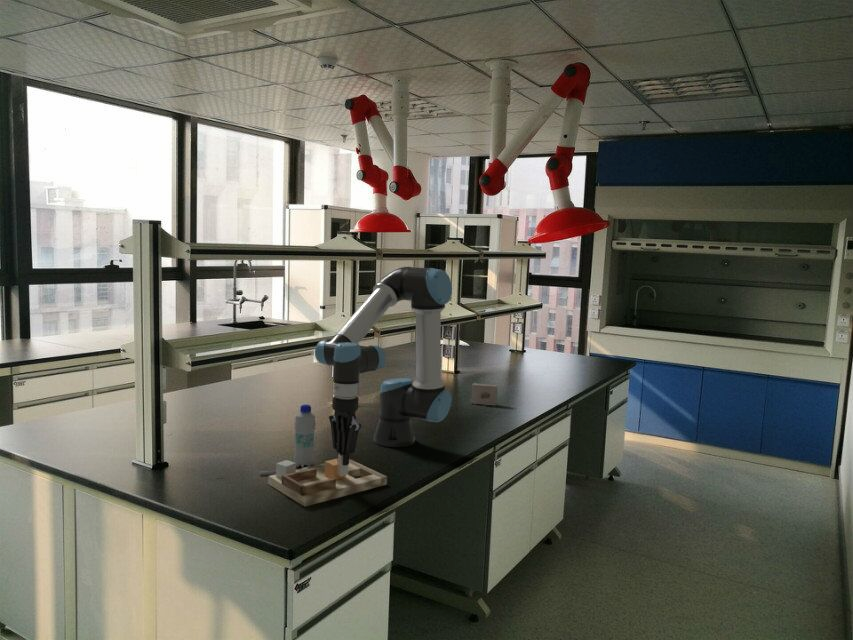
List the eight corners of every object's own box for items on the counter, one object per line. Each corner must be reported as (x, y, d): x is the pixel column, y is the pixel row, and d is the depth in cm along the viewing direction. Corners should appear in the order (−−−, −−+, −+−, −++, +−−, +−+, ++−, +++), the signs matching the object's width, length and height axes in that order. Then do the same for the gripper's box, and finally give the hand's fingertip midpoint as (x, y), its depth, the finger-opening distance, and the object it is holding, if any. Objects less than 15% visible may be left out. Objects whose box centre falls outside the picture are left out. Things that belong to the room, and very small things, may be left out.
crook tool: (293, 473, 201) (293, 469, 201) (294, 477, 197) (294, 473, 197) (260, 475, 198) (260, 471, 198) (260, 479, 194) (261, 475, 194)
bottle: (315, 462, 211) (317, 402, 209) (312, 469, 204) (314, 407, 202) (294, 461, 211) (296, 401, 208) (291, 468, 204) (293, 406, 202)
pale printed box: (470, 404, 301) (472, 384, 300) (471, 402, 305) (472, 382, 303) (496, 406, 299) (498, 386, 298) (497, 404, 303) (498, 384, 302)
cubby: (314, 476, 192) (314, 467, 191) (335, 487, 184) (336, 478, 183) (281, 483, 184) (281, 475, 184) (302, 495, 176) (302, 487, 176)
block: (285, 472, 193) (286, 459, 193) (295, 476, 191) (296, 462, 190) (276, 476, 190) (276, 463, 189) (285, 479, 188) (286, 466, 187)
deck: (347, 465, 209) (348, 457, 209) (386, 484, 195) (387, 475, 194) (268, 484, 190) (268, 475, 190) (304, 506, 176) (305, 497, 175)
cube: (337, 472, 195) (337, 458, 195) (345, 477, 192) (346, 462, 192) (324, 475, 192) (324, 461, 192) (333, 480, 189) (333, 465, 188)
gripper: (322, 393, 190) (319, 471, 192) (348, 402, 180) (345, 484, 183) (343, 390, 195) (340, 466, 197) (369, 399, 185) (366, 478, 188)
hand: (342, 474), depth 190 cm, fingers closed
